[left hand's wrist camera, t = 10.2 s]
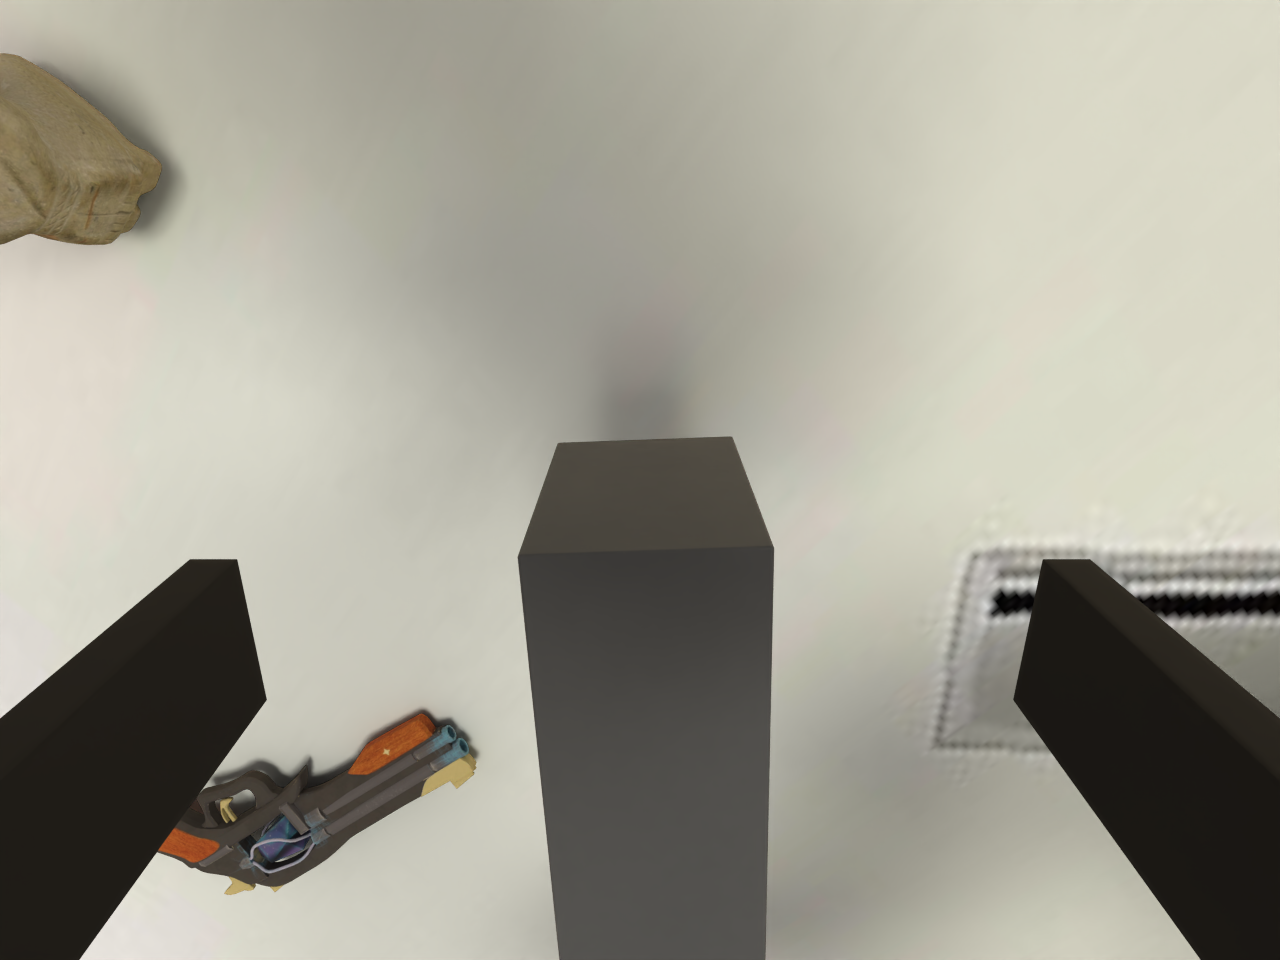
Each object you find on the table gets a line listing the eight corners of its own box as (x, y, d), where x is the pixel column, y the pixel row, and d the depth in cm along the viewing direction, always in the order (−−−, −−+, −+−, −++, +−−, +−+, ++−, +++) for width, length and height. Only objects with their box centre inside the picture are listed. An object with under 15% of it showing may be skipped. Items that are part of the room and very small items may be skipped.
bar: (557, 442, 24) (517, 555, 16) (732, 435, 24) (774, 546, 16) (612, 1137, 36) (604, 1396, 28) (731, 1134, 35) (756, 1393, 28)
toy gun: (67, 818, 40) (191, 955, 42) (360, 632, 38) (477, 785, 40) (103, 786, 43) (218, 917, 44) (378, 611, 41) (487, 755, 42)
